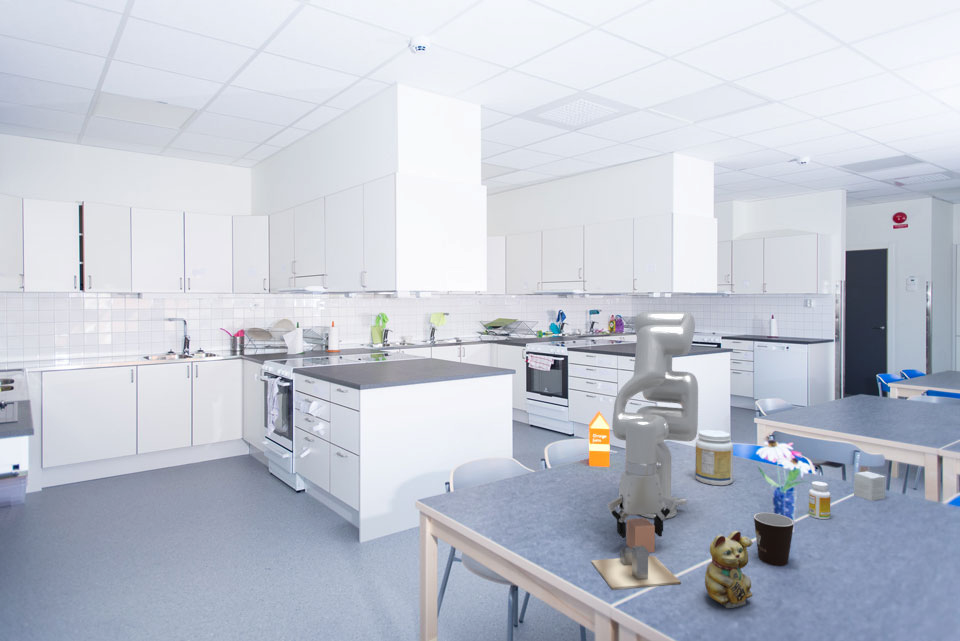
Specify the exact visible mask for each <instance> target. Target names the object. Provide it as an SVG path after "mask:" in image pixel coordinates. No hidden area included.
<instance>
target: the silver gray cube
mask: <svg viewBox="0 0 960 641" xmlns="http://www.w3.org/2000/svg"><path fill="white" fill-rule="evenodd" d="M619 558H620V561H621V562H622V564H623V565H624V566H626V565H632V549H631V548H629V547H621V548H619Z"/></svg>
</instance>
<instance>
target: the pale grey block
mask: <svg viewBox="0 0 960 641" xmlns="http://www.w3.org/2000/svg"><path fill="white" fill-rule="evenodd" d="M853 475H854V478H853V480H854V481H853V496H856V497H859V498H863V499H864V500H868V501H871V502H873V501H877V500H883V499H886V476H885V475H881V474H879V473H874V472H871V471H868V470H866V471H861V472H860V471H858V472H854V474H853Z"/></svg>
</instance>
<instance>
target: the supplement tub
mask: <svg viewBox="0 0 960 641" xmlns="http://www.w3.org/2000/svg"><path fill="white" fill-rule="evenodd" d="M731 440H732V439H731V433H729V432H727V431H724V430H718V429H702V430H699V431H698V434H697V439H696V441H695V478H696V479H697V481H699V482H701V483H703V484H707V485H713V486H727V485H730V484H732V482H733V481H734V444H733V442H732V441H731Z"/></svg>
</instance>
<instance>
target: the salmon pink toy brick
mask: <svg viewBox="0 0 960 641" xmlns="http://www.w3.org/2000/svg"><path fill="white" fill-rule="evenodd" d="M655 539H656V533H655V526H654V523H652V522H651V521H650V520H648V518H647V517H642V518H629V519H627V518H626V546H627V548H631V549H632V546H644V547H645V548H646V549H647V550H648V553H655V552H656V550H655V548H656V547H655V544H656V542H655V541H656V540H655Z"/></svg>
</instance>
